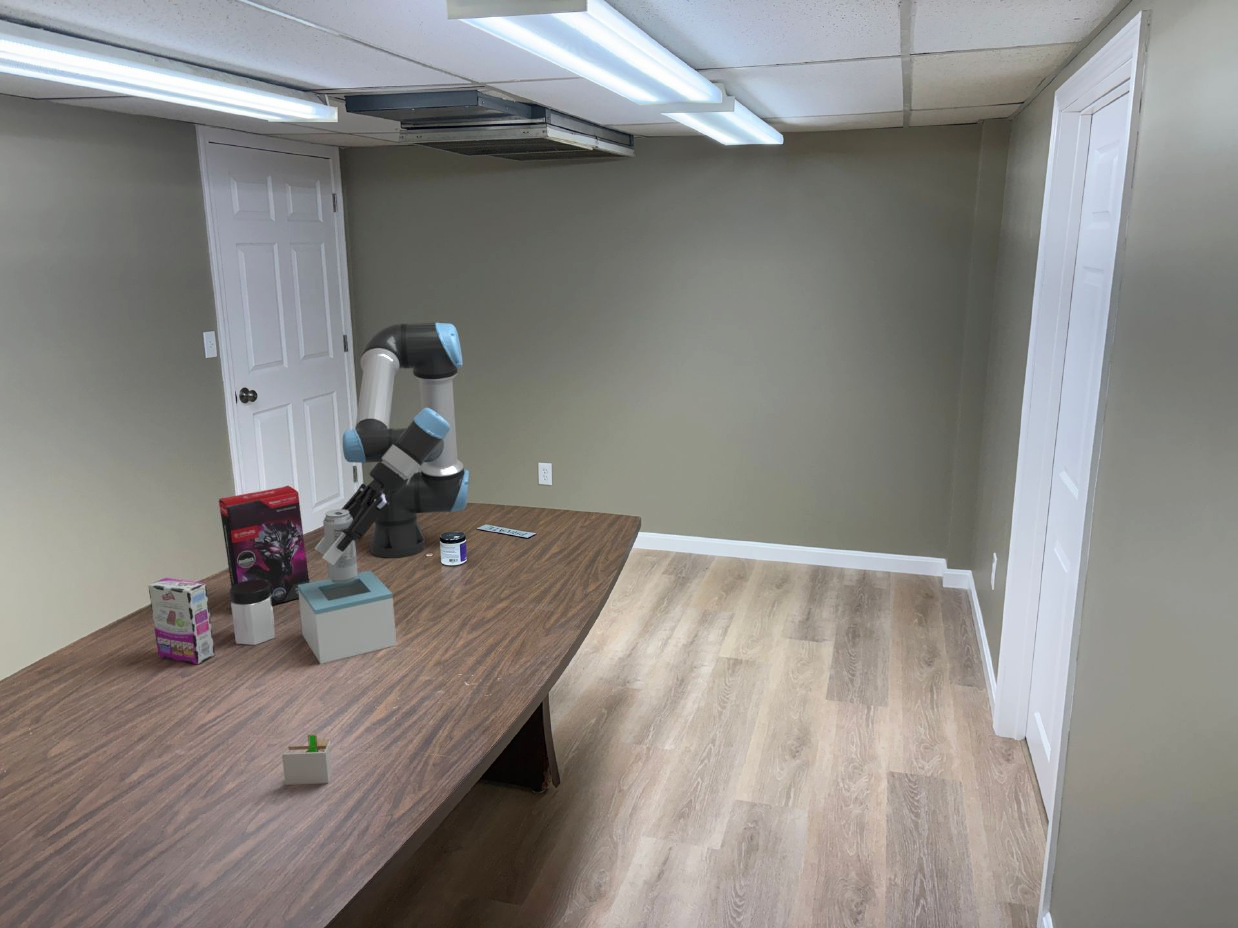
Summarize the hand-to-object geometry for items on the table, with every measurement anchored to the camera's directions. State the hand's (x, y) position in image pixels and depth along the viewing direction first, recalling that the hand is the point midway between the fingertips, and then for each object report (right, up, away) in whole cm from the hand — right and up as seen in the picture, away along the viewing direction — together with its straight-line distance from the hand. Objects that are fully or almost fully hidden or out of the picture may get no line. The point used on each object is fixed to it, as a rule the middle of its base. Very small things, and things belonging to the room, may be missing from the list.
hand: (323, 556), depth 184 cm
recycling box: (+3, -19, +7) cm, 21 cm away
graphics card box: (-22, -14, +28) cm, 39 cm away
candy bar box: (-29, -21, 0) cm, 36 cm away
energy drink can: (+3, -5, +3) cm, 7 cm away
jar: (-18, -19, +9) cm, 28 cm away
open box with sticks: (+12, -32, -42) cm, 55 cm away
